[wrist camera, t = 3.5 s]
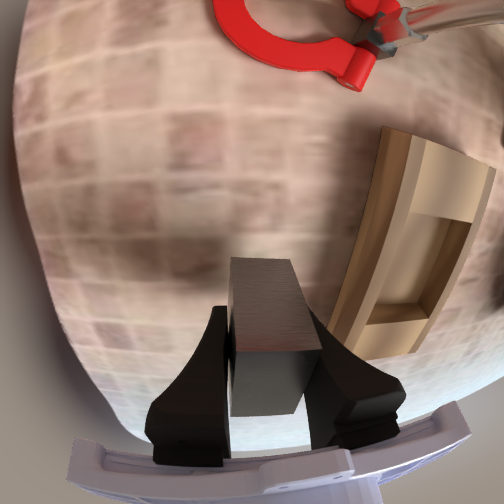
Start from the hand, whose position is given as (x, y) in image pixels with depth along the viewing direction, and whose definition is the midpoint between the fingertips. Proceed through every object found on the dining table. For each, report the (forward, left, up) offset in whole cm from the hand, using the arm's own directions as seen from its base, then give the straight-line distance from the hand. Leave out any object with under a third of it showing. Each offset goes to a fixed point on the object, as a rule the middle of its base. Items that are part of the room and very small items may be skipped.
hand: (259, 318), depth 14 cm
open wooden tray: (-10, -2, -4) cm, 11 cm away
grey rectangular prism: (0, 0, -2) cm, 2 cm away
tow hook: (-1, -16, -5) cm, 17 cm away
